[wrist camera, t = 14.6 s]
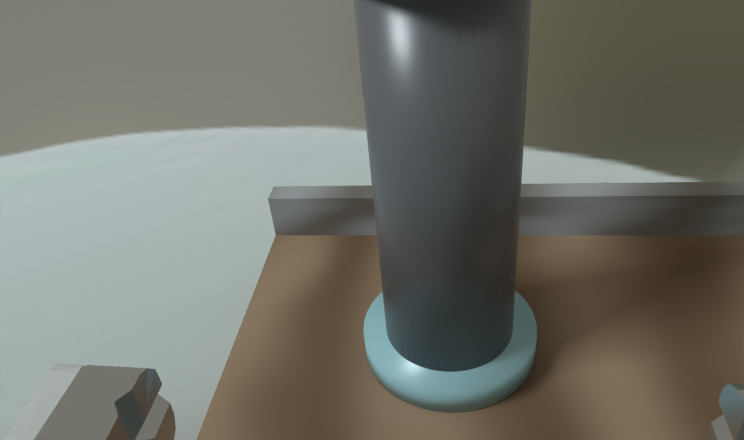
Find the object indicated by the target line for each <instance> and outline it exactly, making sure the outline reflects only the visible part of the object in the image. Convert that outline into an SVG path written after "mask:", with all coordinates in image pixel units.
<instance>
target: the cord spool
mask: <svg viewBox="0 0 744 440" xmlns="http://www.w3.org/2000/svg"><path fill="white" fill-rule="evenodd" d="M531 3H532V0H354V7H355V17H356V28H357V38H358V48H359V58H360V68H361V78H362V87H363V88H362V89H363V99H364V109H365V119H366V129H367V139H368V150H369V160H370V170H371V180H372V190H373V200H374V211H375V221H376V231H377V241H378V251H379V261H380V271H381V282H382V292H381V293H380V294H379V295H378V296H377V297H376V299H375V300H374V301H373V303H372V304H371V305H370V307H369V309H368V311H367V313H366V317H365V320H364V328H363V331H364V340H365V348H366V356H367V361H368V364H369V367H370V369H371V371H372V373H373V375H374V376H375V378H376V379H377V381H378V382H379V383H380V384H381V385H382V386H383V387H384V388H385V389H386V390H387V391H389V392H390V393H391V394H392V395H394V396H396V397H397V398H399V399H400V400H402V401H404V402H407V403H409V404H411V405H414V406H417V407H420V408H423V409H428V410H433V411H440V412H464V411H472V410H476V409H481V408H485V407H487V406H490V405H493V404H495V403H497V402H499V401H501V400H503V399H505V398H507V397H508V396H509V395H511V394H512V393H514V392H515V391H516V390H517V389H518V388H519V387H520V386H521V385H522V384H523V383H524V381H525V380H526V379H527V377H528V375H529V374H530V372H531V370H532V367H533V364H534V359H535V352H536V340H537V324H536V320H535V316H534V314H533V312H532V309H531V308H530V306H529V305H528V303H527V302H526V301H525V299H524V298H523V297H522V296H521V295H520V294H519V293H518V292H517V291H516V290H515V286H516V268H517V250H518V233H519V215H520V197H521V180H522V162H523V145H524V127H525V108H526V92H527V74H528V55H529V39H530V38H529V37H530V21H531Z"/></svg>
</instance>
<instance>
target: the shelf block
mask: <svg viewBox="0 0 744 440" xmlns="http://www.w3.org/2000/svg"><path fill="white" fill-rule="evenodd" d="M268 200H269V205H270V209H271V214H272V219H273V224H274V228H275V233H276V237H275V239H274V242H273V244H272V247H271V249H270V252H269V255H268V257H267V260H266V262H265V265H264V267H263V270H262V273H261V275H260V278H259V280H258V283H257V285H256V288H255V291H254V293H253V296H252V298H251V301H250V304H249V306H248V309H247V311H246V314H245V316H244V319H243V322H242V324H241V327H240V329H239V332H238V334H237V337H236V340H235V342H234V345H233V347H232V350H231V352H230V355H229V358H228V360H227V363H226V365H225V368H224V371H223V373H222V376H221V378H220V381H219V383H218V386H217V389H216V391H215V394H214V396H213V399H212V401H211V404H210V407H209V409H208V412H207V414H206V417H205V419H204V422H203V425H202V427H201V430H200V432H199V435H198V438H197V440H706V438H707V435H708V431H709V428H710V424H711V422H712V421H714V420H715V419H717V418H718V417H720V416H721V415H723V412H722V409H721V407H720V404H719V402H718V401H719V398H720V395H721V392H722V390H723V388H724V387H725V386H726V385H728V384H729V383H744V182H667V183H573V184H521V197H520V215H519V233H518V250H517V268H516V286H515V290H516V291H517V292H518V293H519V294H520V295H521V296H522V297H523V298H524V299H525V301H526V302H527V303H528V305H529V306H530V308H531V309H532V312H533V314H534V316H535V320H536V324H537V340H536V352H535V359H534V364H533V367H532V370H531V372H530V374H529V375H528V377H527V379H526V380H525V381H524V383H523V384H522V385H521V386H520V387H519V388H518V389H517V390H516V391H515V392H514V393H512V394H511V395H509V396H508V397H507V398H505V399H503V400H501V401H499V402H497V403H495V404H493V405H490V406H487V407H485V408H481V409H476V410H472V411H464V412H440V411H433V410H428V409H423V408H420V407H417V406H414V405H411V404H409V403H407V402H404V401H402V400H400V399H399V398H397V397H396V396H394V395H392V394H391V393H390V392H389V391H387V390H386V389H385V388H384V387H383V386H382V385H381V384H380V383H379V382H378V381H377V379H376V378H375V376H374V375H373V373H372V371H371V369H370V367H369V364H368V361H367V356H366V348H365V340H364V331H363V328H364V320H365V317H366V313H367V311H368V309H369V307H370V305H371V304H372V303H373V301H374V300H375V299H376V297H377V296H378V295H379V294H380V293H381V292H382V282H381V271H380V261H379V251H378V241H377V231H376V221H375V211H374V200H373V190H372V186H291V187H273V189H272V192H271V194H270V196H269V198H268Z"/></svg>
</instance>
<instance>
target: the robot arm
mask: <svg viewBox="0 0 744 440" xmlns="http://www.w3.org/2000/svg"><path fill="white" fill-rule="evenodd" d="M161 385H162V383H161V381H160V378H159V376H158V374H157V372H156V370H155V369H148V368H131V367H113V366H94V365H68V364H57V365H56V366H54V367H53V368H51V369H50V370H48V371H47V373H46V374H45V375H44V377H43V378H42V380H41V381H40V383H39V384H38V386H37V387H36V389H35V390H34V392H33V393H32V395H31V396H30V398H29V399H28V400H27V402H26V403H25V405H24V406H23V408H22V409H21V411H20V412H19V414H18V415H17V417H16V418H15V420H14V421H13V423H12V424H11V426H10V427H9V429H8V430H7V432H6V433H5V434H4V436H3V437H2V439H1V440H174V435H175V428H176V427H175V418H174V413H173V410H172V407H171V405H170V403H169V402H168V401H166V400H165V399H164V398H162V397H161V396H160V395H158V392H159V390H160V387H161ZM718 402H719V404H720V407H721V409H722V412H723V415H721V416H720V417H718V418H717V419H715V420H714V421H712V422H711V424H710V428H709V431H708V435H707V438H706V440H744V383H729V384H728V385H726V386H725V387H724V388H723V390H722V392H721V395H720V398H719V401H718Z"/></svg>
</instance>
